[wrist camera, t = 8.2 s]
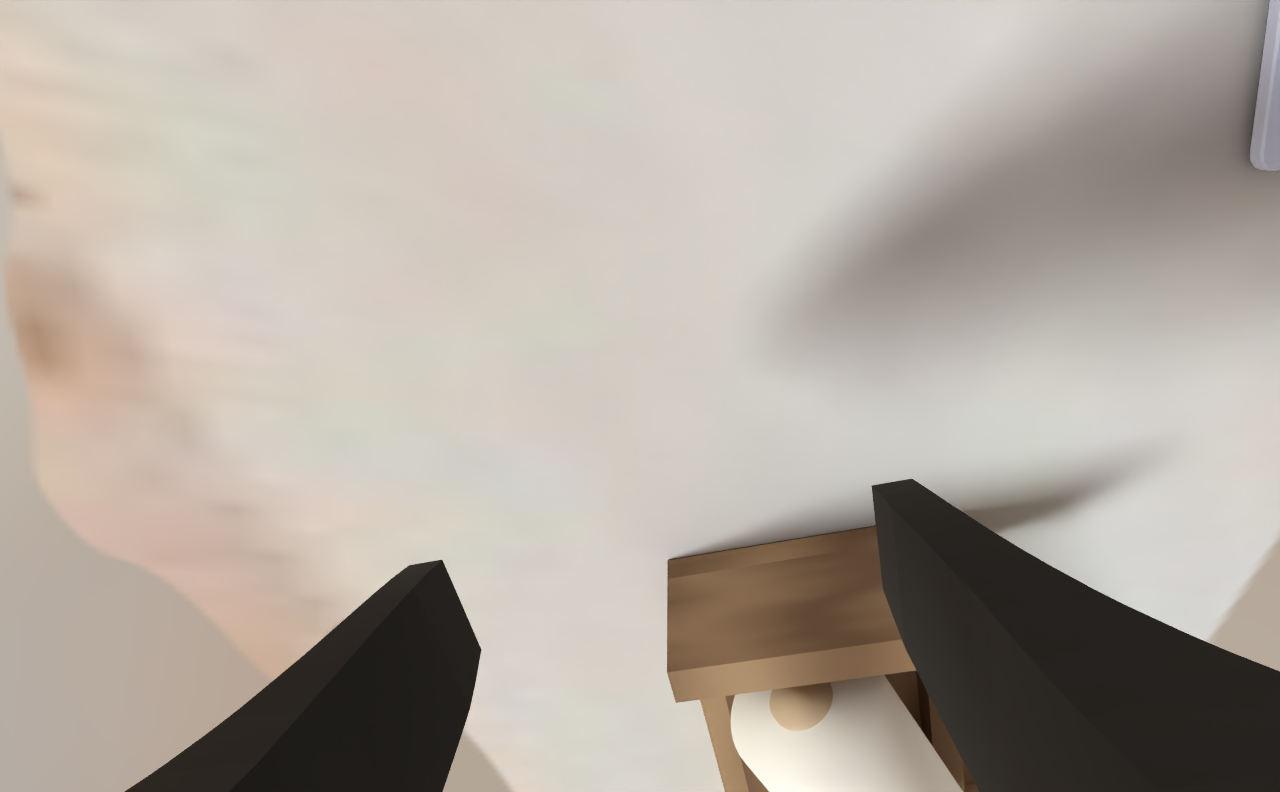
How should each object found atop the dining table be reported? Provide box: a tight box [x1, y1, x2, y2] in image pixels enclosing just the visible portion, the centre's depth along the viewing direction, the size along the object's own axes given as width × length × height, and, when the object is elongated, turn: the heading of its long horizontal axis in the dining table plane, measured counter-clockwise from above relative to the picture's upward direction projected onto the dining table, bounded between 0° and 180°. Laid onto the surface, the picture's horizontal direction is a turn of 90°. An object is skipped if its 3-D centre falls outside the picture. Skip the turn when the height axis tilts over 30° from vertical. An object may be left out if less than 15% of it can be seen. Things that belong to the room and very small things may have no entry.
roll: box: [731, 675, 963, 792], centre depth 20 cm, size 5×8×5 cm, turn 33°
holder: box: [667, 526, 979, 792], centre depth 22 cm, size 10×13×5 cm
